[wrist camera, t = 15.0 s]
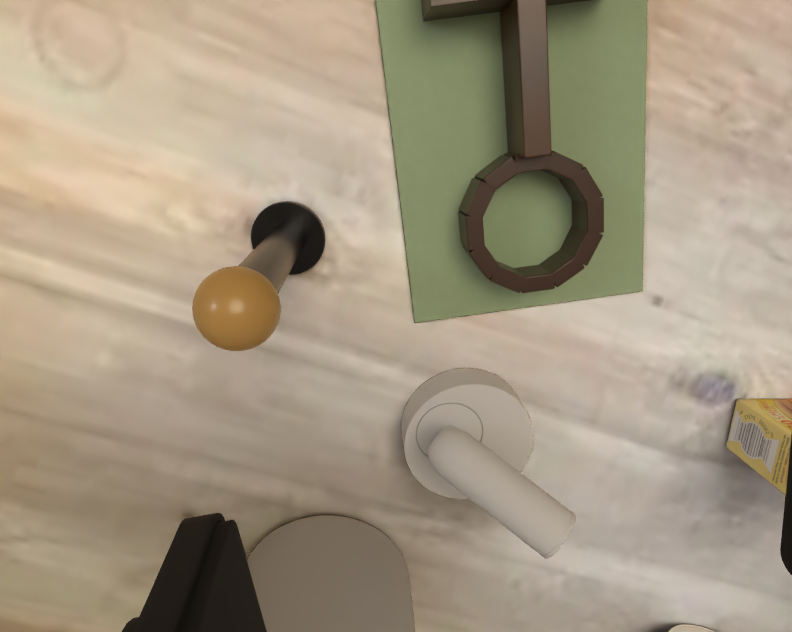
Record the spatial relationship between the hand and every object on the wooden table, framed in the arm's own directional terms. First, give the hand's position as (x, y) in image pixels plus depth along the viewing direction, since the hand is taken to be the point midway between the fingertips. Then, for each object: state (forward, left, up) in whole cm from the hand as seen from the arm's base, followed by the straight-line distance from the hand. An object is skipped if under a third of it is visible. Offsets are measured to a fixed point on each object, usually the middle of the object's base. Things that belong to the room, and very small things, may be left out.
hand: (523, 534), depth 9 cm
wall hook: (+3, -14, -27) cm, 30 cm away
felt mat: (+8, +5, -26) cm, 28 cm away
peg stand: (-7, +1, -26) cm, 27 cm away
